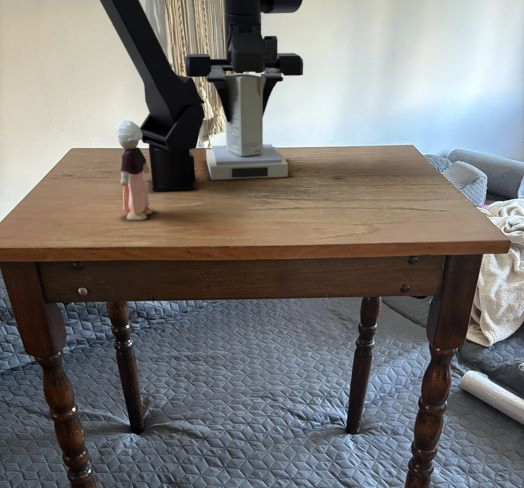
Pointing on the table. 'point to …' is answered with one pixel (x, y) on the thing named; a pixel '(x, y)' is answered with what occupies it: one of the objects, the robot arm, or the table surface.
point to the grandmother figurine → (133, 171)
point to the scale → (245, 164)
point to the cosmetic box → (244, 114)
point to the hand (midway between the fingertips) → (244, 121)
